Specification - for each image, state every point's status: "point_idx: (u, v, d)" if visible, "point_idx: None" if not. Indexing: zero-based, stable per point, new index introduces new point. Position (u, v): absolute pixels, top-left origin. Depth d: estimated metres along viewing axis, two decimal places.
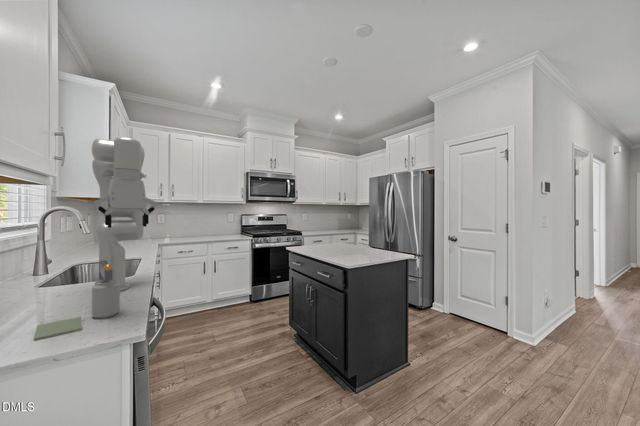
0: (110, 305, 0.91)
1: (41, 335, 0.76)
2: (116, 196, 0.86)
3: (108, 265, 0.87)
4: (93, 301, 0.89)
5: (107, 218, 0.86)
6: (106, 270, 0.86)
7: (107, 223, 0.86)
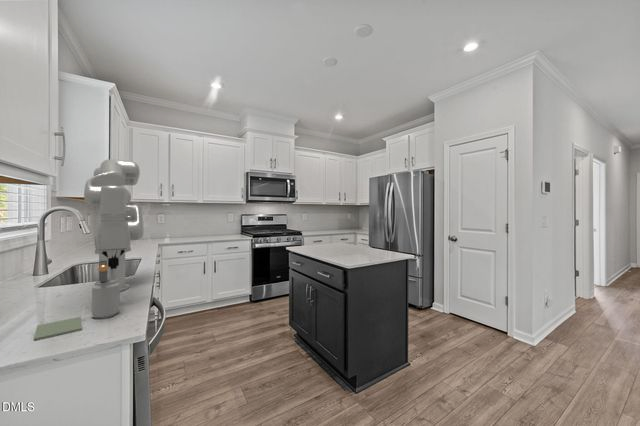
0: (110, 305, 0.91)
1: (41, 335, 0.76)
2: (103, 239, 0.96)
3: (103, 266, 0.86)
4: (93, 301, 0.89)
5: (110, 261, 0.99)
6: (100, 271, 0.85)
7: (110, 265, 0.99)
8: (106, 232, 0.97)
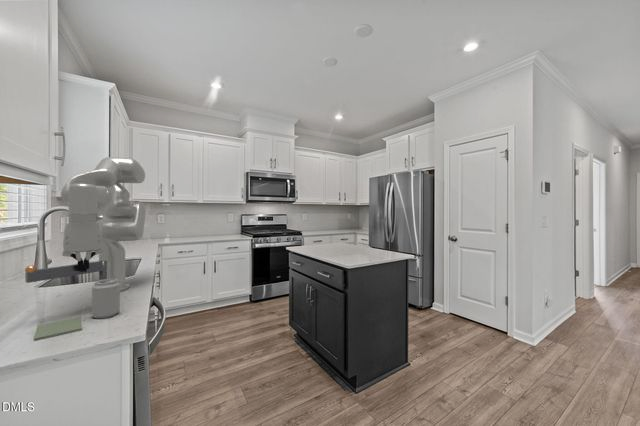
0: (110, 305, 0.91)
1: (41, 335, 0.76)
2: (70, 240, 0.90)
3: (27, 267, 0.84)
4: (93, 301, 0.89)
5: (79, 263, 0.93)
6: (25, 271, 0.84)
7: (79, 268, 0.93)
8: (74, 233, 0.91)
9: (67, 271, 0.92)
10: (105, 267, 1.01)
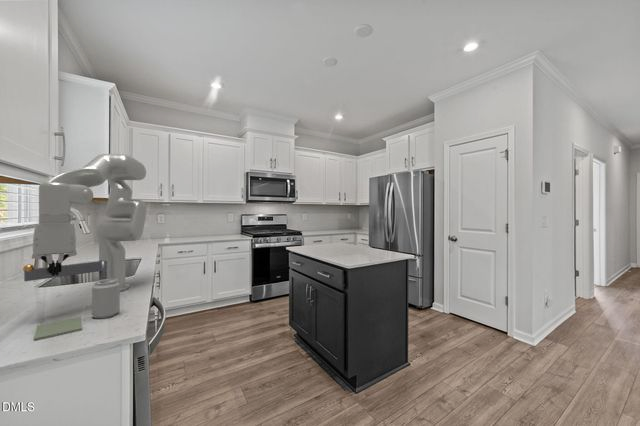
0: (110, 305, 0.91)
1: (41, 335, 0.76)
2: (40, 242, 0.85)
3: None
4: (93, 301, 0.89)
5: (50, 266, 0.88)
6: None
7: (50, 271, 0.88)
8: (45, 234, 0.86)
9: (65, 271, 0.93)
10: (105, 267, 1.01)
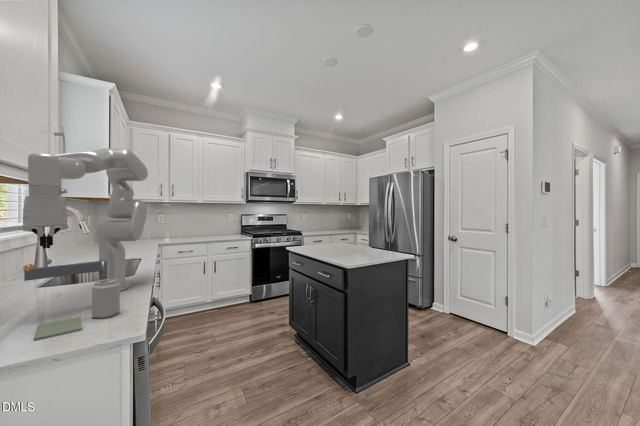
0: (110, 305, 0.91)
1: (41, 335, 0.76)
2: (30, 214, 0.84)
3: (25, 265, 0.87)
4: (93, 301, 0.89)
5: (41, 239, 0.87)
6: None
7: (41, 244, 0.87)
8: (35, 206, 0.85)
9: (65, 271, 0.93)
10: (104, 267, 1.01)
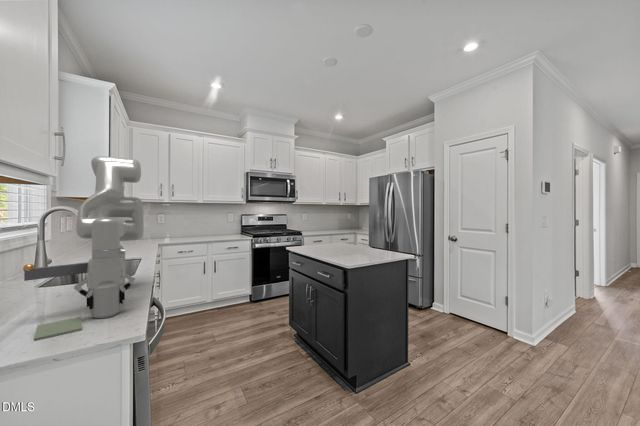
0: (110, 305, 0.91)
1: (41, 335, 0.76)
2: (94, 277, 0.89)
3: (25, 265, 0.87)
4: (93, 301, 0.89)
5: (88, 300, 0.89)
6: None
7: (88, 305, 0.89)
8: (98, 270, 0.89)
9: (65, 271, 0.93)
10: None
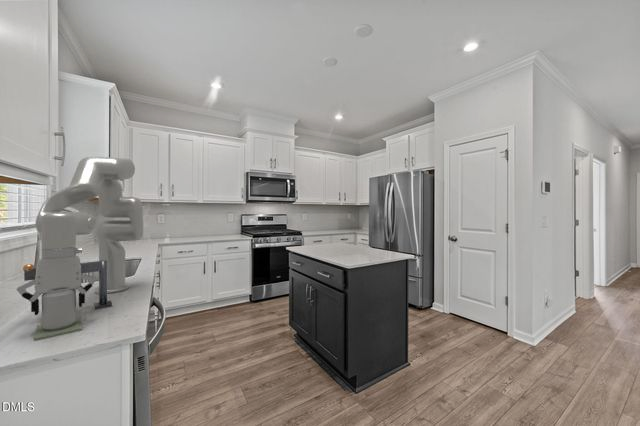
0: (63, 315, 0.80)
1: (41, 335, 0.76)
2: (43, 280, 0.78)
3: (25, 265, 0.87)
4: (43, 311, 0.79)
5: (33, 305, 0.78)
6: None
7: (33, 310, 0.78)
8: (48, 271, 0.79)
9: None
10: (104, 267, 1.01)
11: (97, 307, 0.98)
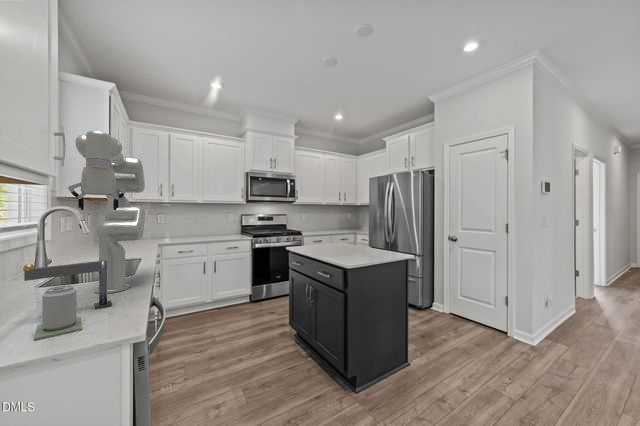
0: (63, 315, 0.80)
1: (41, 335, 0.76)
2: (88, 182, 0.98)
3: (25, 265, 0.87)
4: (43, 311, 0.79)
5: (80, 201, 0.98)
6: None
7: (80, 206, 0.98)
8: (91, 176, 0.99)
9: (65, 271, 0.93)
10: (104, 267, 1.01)
11: (97, 307, 0.98)
